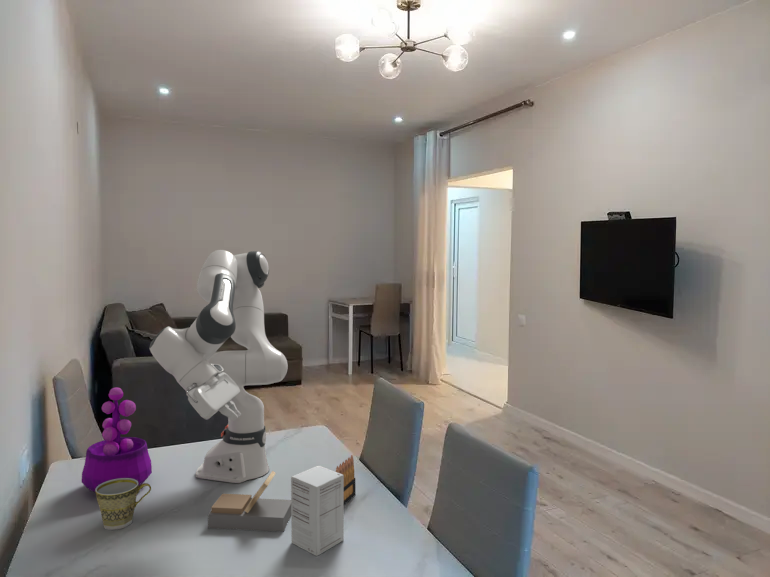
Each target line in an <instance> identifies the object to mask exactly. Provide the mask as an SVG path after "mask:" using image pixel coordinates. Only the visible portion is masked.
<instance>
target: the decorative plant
mask: <svg viewBox="0 0 770 577" xmlns="http://www.w3.org/2000/svg"><path fill="white" fill-rule="evenodd" d="M108 397H109V400H108V401H105V402H104V403H103V404H102V406H101V411H102V412H103V413H105V414H106V415H110V414H111V413H112V415H111V416H112V417H107V418H105V419H104V420H103V422H102V425H101V426H102V428H103V431H102V433H101V435H102V438H103V440H101V441H100V440H99V441H97V442H95V443H93V444H91V445H89V447H88V448H86V451H85V452H86V453H85V458H84V460H85V461H84V466H83V468H82V472H81V483H82V484H83V485H84V486H85V488H86V489H88V490H89V491H91V492H95V489H96V487H97V486H98V485H100V484H102V483H104V482H106V481H109V480H113V479H119V478H131V479H135V480H137V481H138V483H139V484H138V486H140V485H141V484H144V483H145V481H147V479H148V478H149V477H150V475H151V474H152V473H153V471H152V469H153V468H152V467H153V466H152V459H151V455H150V454H149V449H148V444H147V441H146V440H145V439H143V438H140V437H135V436H134V437H132V436H123V435H127V434H128V433H129V431H130V430H131V427H132V422H131V421H130V420H129V419H127V418H121V416H123V417H130V416H131V415H133V414H134V413H135V411H136V410H137V406H136V403H135V402H134V401H133V400H129V399H125V400H122V402H120V403H118V401H119V400H121V399H122V398H123V397H124V392H123V389H122V388H120V387H112V388H111V389H110V390H109V393H108ZM110 400H111V401H110ZM113 401H114V402H113ZM121 435H122V436H121ZM95 493H96V492H95Z"/></svg>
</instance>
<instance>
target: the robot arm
mask: <svg viewBox="0 0 770 577" xmlns="http://www.w3.org/2000/svg"><path fill="white" fill-rule="evenodd" d="M203 262H204V263H203V264H202V266H201V269H200V272H199V275H198V277H197V278H198V279H197V284H196V291H197V294H198V296H199V297H200V298H201V299H202V300H204V301H205V302H206V303H208V304H206V306H204V307H203V309H201V311H200V312H199V314H198V315H197V317H196V318H195V320H194V321H193V322H192V324H190V327H189V326H188V327H185V328H173V327H171V326H166V327H164V328H163V329H161V330H160V331H159V332H158V333H157V334H156V336H154V338H153V339H152V341H151V342H150V344H149V351H150V353H151V354H152V356H153V358H154V359H155V360H156V361H157V362H158V364H159V365H160V366H161V367H162V368H163V369H164V370H165V372H167V373H169V374H170V375H172V376H173V377H174V379H175V380H176V382H177V383H178V384H179V385H180V387H182V388H183V390H185V393H186V396H187V401H188V402H189V404H190V405H191V406H192V408H193V409H194V410H195V411H196V412H197V413H198V415H199V416H200V417H201V418H203V419H204V420H207V421H208V420H210V418H212V417H213V416H214V415H215V414H216V413H218V412H220V414H222V415H223V416H225V417H226V418H227V420H228V421H227V422H228V423H227V425H226V426H225V427H224V429H223V430H222V432H221V433H220V437H221V438H222V439H221V440H220V441H219V442H217V443H216V444H215V445H213V446H212V447H211V448H210V449H208V450H207V452H206V454H205V456H204V459H203V463H201V464H200V465H199V466H198V467H197V469H196V471H195V477H196V478H197V479H202V480H209V481H210V480H211V481H218V482H225V483H233V484H240V483H243V482H246V481H248V480H254V479H258V478H261V477H262V476H264V475H265V476H266V474H267V473H268V472H269V471H270V465H269V463H268V459H267V454H266V440H267V431H266V426H265V406H264V402H263V401H262V400H261V398H259V397H258V396H256V395H253V394H251V393H249V392H247V391H246V390H245V388H244V387H245V386H262V385H271V384H274V383H275V384H276V383H279V382H281V381H283V379H285V377H286V375H287V372H288V367H289V366H288V360H287V357H286V356H285V355H284V353H283V352H281V351H280V350H278V349H277V348H275V346H273V345H272V343H270V341H269V339H268V338H267V334H266V329H265V307H264V300H263V296H262V292H261V290H260V289H262V287H264V285H265V282H266V281H267V279H268V277H269V275H270V274H269V273H270V266H269V263H268V259H267V257H266V256H265V254H263V253H262V252H261V251H258V250H256V251H255V250H254V251H253V250H252V251H248V252H244V253H239V254H233V253H232V252H230V251H228V250H225V249H216V250H214V251H212V252H210V253H209V255H208V256H207V257H206V259H205V261H203ZM228 339H231V340H232V341H234V342H235V343H236V344H238V345H239V346H242V347H244V348H246V349H247V350H245V349H244V350H223V351H222V350H221V351H218V350H219V349H220V348H221V347H222V346H223V345H224V343H225V342H226V341H227V340H228Z"/></svg>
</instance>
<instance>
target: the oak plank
mask: <svg viewBox="0 0 770 577" xmlns="http://www.w3.org/2000/svg"><path fill="white" fill-rule="evenodd" d="M276 474H277V473H276V472H275V471H273V470H272V471H271V472H270V474H268V476H267V478H265V481H264V482H263V483H262V484H261V486H260V488H259V489H258V490H257V491H256V492H255V495H254V496H252V500H251V501H250V503H249V504H248V506H247V507H246V509H245V510H244V511H245V512H247V513H248V512H249V511H250V509H251V508H252V507H253V505H254V504H255V503H256V501H257V500H258V498H260V497H261V496H262V494H264V491H265V490H266V489H267V487H269V484H270V483H271V481H272V480H273V478H274V477H275V476H276Z"/></svg>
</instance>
